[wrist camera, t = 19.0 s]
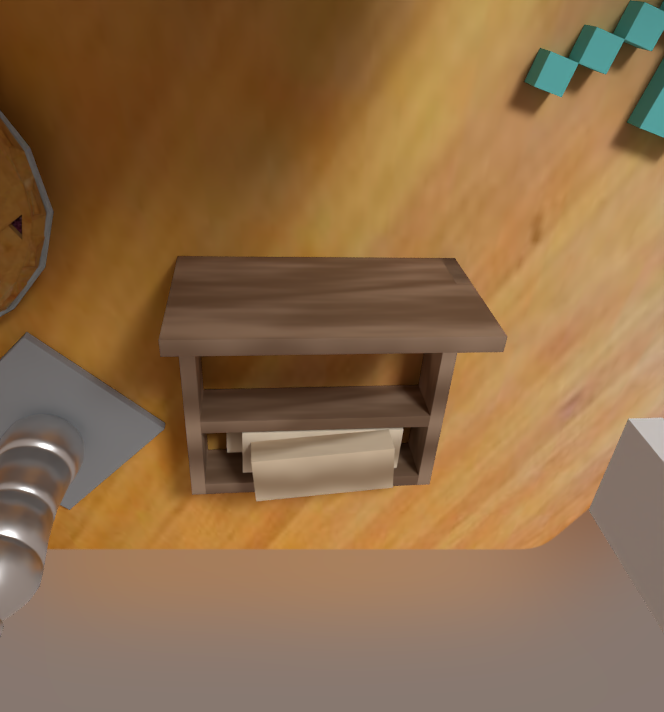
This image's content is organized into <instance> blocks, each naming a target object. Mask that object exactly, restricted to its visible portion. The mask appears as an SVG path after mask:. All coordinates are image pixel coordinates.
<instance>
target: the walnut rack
mask: <svg viewBox="0 0 664 712" xmlns="http://www.w3.org/2000/svg"><path fill="white" fill-rule="evenodd" d="M506 340H507V335H506V334H505V332H504V331H503V329H502V328H501V326H500V325H499V323H498V322H497V320H496V319H495V317H494V316H493V314H492V313H491V311H490V310H489V308H488V307H487V305H486V304H485V302H484V301H483V299H482V298H481V296H480V295H479V294H478V292H477V291H476V289H475V288H474V286H473V285H472V283H471V282H470V280H469V279H468V277H467V276H466V274H465V273H464V271H463V270H462V268H461V267H460V265H459V264H458V262H457V261H456V259H455V258H340V257H203V256H178V258H177V262H176V266H175V271H174V275H173V279H172V284H171V288H170V292H169V297H168V301H167V305H166V310H165V314H164V319H163V323H162V327H161V332H160V336H159V348H160V357H176V356H179V364H180V374H181V384H182V394H183V405H184V415H185V425H186V435H187V445H188V456H189V466H190V476H191V486H192V495H193V494H216V493H239V492H255V488H254V480H253V472H247V473H243V453H242V452H228V453H227V449H219V450H208V444H207V433H232V432H265V431H298V430H331V429H364V428H397V427H411V430H410V436H409V442H408V443H401V446H400V452H399V457H398V463H397V468H394V473H393V486H401V485H425V484H430V479H431V474H432V470H433V465H434V460H435V455H436V451H437V446H438V441H439V437H440V432H441V427H442V422H443V418H444V413H445V408H446V403H447V399H448V394H449V389H450V385H451V380H452V375H453V370H454V366H455V361H456V356H457V353H465V352H503V351H504V348H505V344H506ZM393 353H424V356H423V362H422V367H421V373H420V379H419V385H396V386H348V387H300V388H252V389H205V390H203V376H202V362H201V356H249V355H321V354H393Z"/></svg>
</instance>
